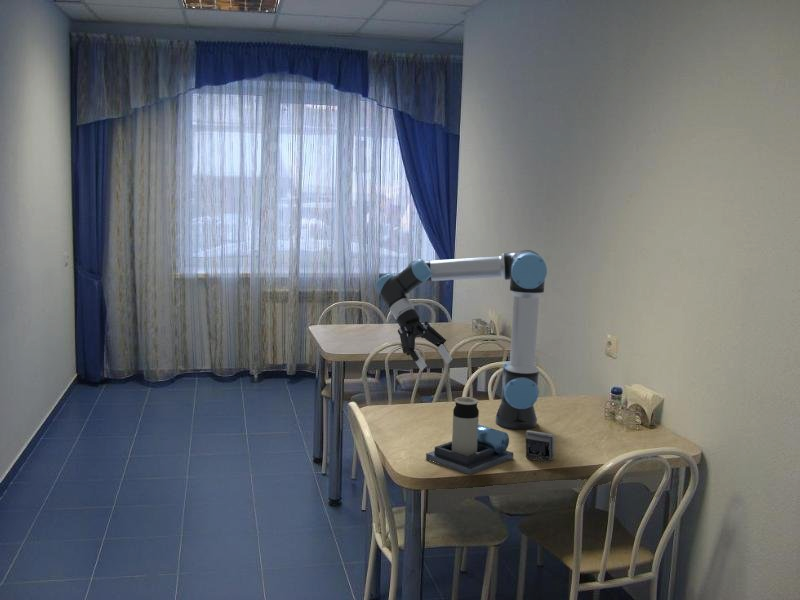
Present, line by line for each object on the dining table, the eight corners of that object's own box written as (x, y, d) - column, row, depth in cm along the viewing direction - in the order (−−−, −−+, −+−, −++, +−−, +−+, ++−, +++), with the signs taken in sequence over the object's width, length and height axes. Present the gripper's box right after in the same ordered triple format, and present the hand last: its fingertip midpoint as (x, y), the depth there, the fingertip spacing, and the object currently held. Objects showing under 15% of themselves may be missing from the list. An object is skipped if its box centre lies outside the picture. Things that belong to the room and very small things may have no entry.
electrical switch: (555, 459, 258) (556, 432, 255) (551, 465, 253) (552, 438, 251) (526, 454, 261) (527, 428, 259) (522, 460, 257) (523, 433, 255)
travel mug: (468, 461, 247) (470, 405, 245) (446, 455, 252) (448, 400, 249) (481, 454, 253) (484, 399, 251) (460, 449, 258) (462, 395, 256)
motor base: (469, 444, 269) (470, 418, 268) (513, 458, 257) (514, 431, 255) (426, 459, 253) (427, 432, 252) (470, 475, 241) (471, 446, 240)
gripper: (422, 316, 286) (453, 365, 279) (374, 325, 268) (406, 377, 260) (434, 304, 282) (466, 353, 274) (386, 312, 263) (418, 364, 256)
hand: (437, 364), depth 267 cm, fingers open, 13 cm apart
